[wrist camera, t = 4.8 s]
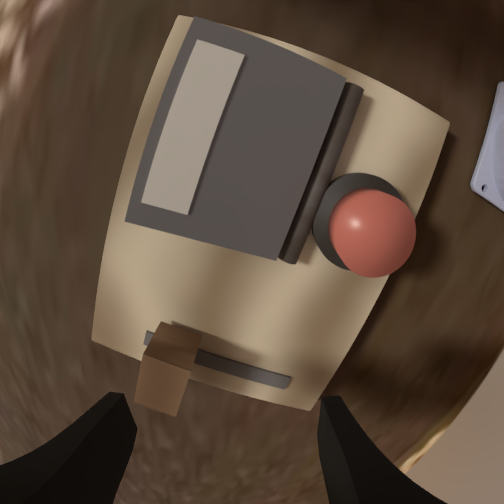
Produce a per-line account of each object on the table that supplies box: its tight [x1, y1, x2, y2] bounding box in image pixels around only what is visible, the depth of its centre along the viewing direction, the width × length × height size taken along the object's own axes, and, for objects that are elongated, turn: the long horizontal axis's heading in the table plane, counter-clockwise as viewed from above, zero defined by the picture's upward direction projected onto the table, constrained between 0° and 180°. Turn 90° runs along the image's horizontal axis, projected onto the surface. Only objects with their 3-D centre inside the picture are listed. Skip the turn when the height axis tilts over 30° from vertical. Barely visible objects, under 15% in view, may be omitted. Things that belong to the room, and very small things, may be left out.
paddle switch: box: [124, 16, 347, 261], centre depth 13 cm, size 7×9×1 cm
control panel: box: [92, 15, 450, 411], centre depth 16 cm, size 15×20×2 cm
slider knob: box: [134, 321, 202, 417], centre depth 16 cm, size 2×4×3 cm, turn 160°
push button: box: [328, 188, 416, 278], centre depth 14 cm, size 4×4×2 cm
